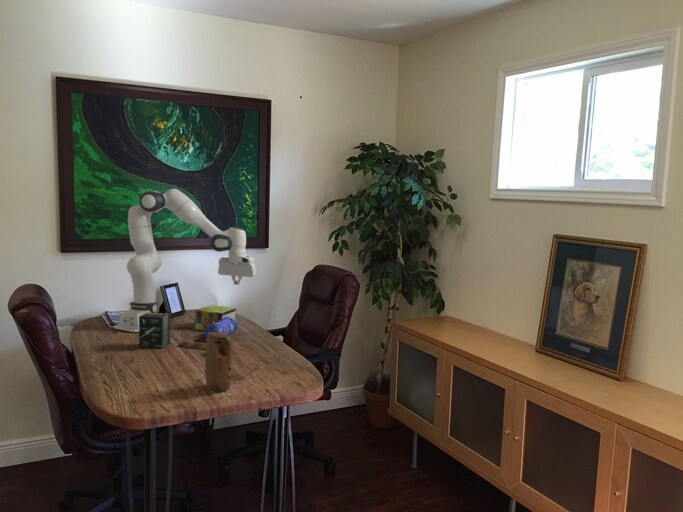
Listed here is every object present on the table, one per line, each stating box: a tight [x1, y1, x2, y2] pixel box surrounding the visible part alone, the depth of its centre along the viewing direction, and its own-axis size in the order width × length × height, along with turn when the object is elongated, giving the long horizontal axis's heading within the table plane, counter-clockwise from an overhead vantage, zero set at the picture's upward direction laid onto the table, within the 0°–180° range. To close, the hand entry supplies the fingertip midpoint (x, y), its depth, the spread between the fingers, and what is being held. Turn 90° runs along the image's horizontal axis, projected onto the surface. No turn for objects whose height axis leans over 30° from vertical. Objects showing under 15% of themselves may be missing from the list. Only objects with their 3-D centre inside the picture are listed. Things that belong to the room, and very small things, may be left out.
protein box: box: [194, 304, 237, 331], centre depth 294 cm, size 10×15×16 cm
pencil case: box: [204, 316, 238, 340], centre depth 274 cm, size 22×9×10 cm, turn 167°
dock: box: [180, 330, 242, 350], centre depth 269 cm, size 16×29×2 cm, turn 166°
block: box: [204, 332, 233, 392], centre depth 203 cm, size 11×8×20 cm
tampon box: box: [138, 312, 171, 349], centre depth 256 cm, size 11×9×15 cm
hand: (236, 284), depth 292 cm, fingers closed
